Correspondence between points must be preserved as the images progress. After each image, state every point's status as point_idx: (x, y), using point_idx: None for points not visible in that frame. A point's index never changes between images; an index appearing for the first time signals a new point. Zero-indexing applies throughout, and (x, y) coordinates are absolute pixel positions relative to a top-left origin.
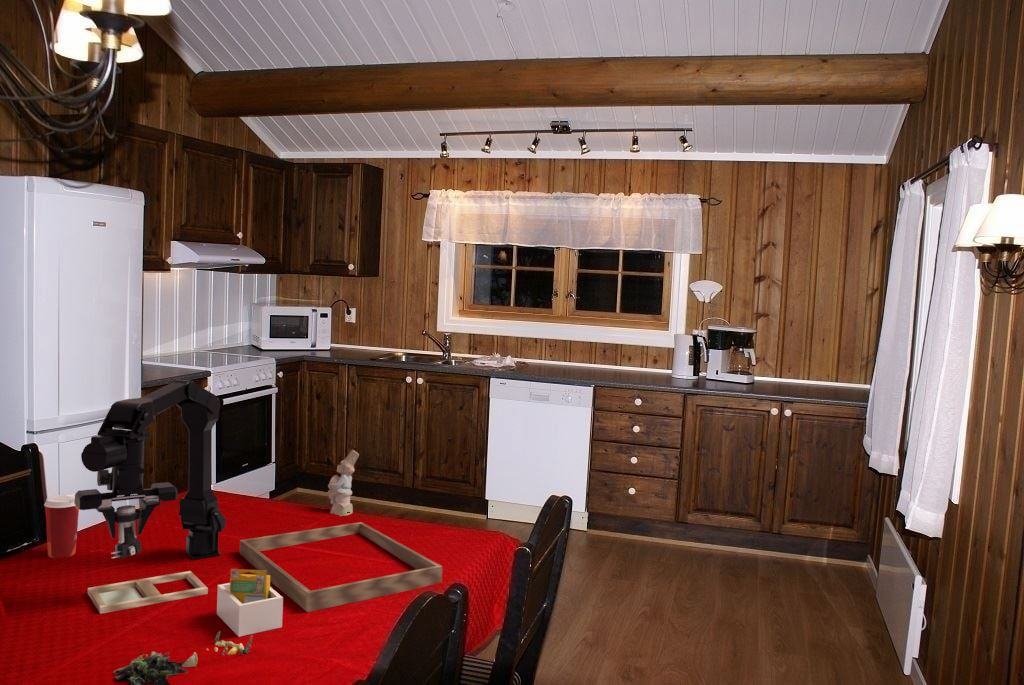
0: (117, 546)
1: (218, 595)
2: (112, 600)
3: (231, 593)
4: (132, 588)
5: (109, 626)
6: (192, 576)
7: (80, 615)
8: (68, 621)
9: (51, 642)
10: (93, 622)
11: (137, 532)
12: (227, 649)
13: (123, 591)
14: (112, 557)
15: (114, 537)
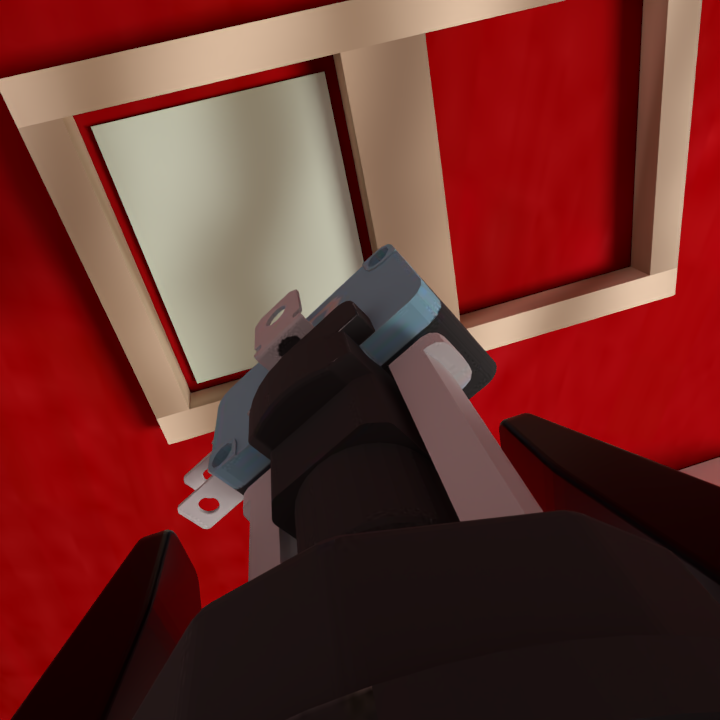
0: (236, 488)
1: None
2: (208, 274)
3: None
4: (312, 88)
5: (232, 547)
6: (678, 65)
7: (73, 428)
8: (33, 485)
9: (31, 647)
10: (158, 507)
11: (509, 440)
12: None
13: (258, 132)
14: (196, 484)
15: (196, 595)
